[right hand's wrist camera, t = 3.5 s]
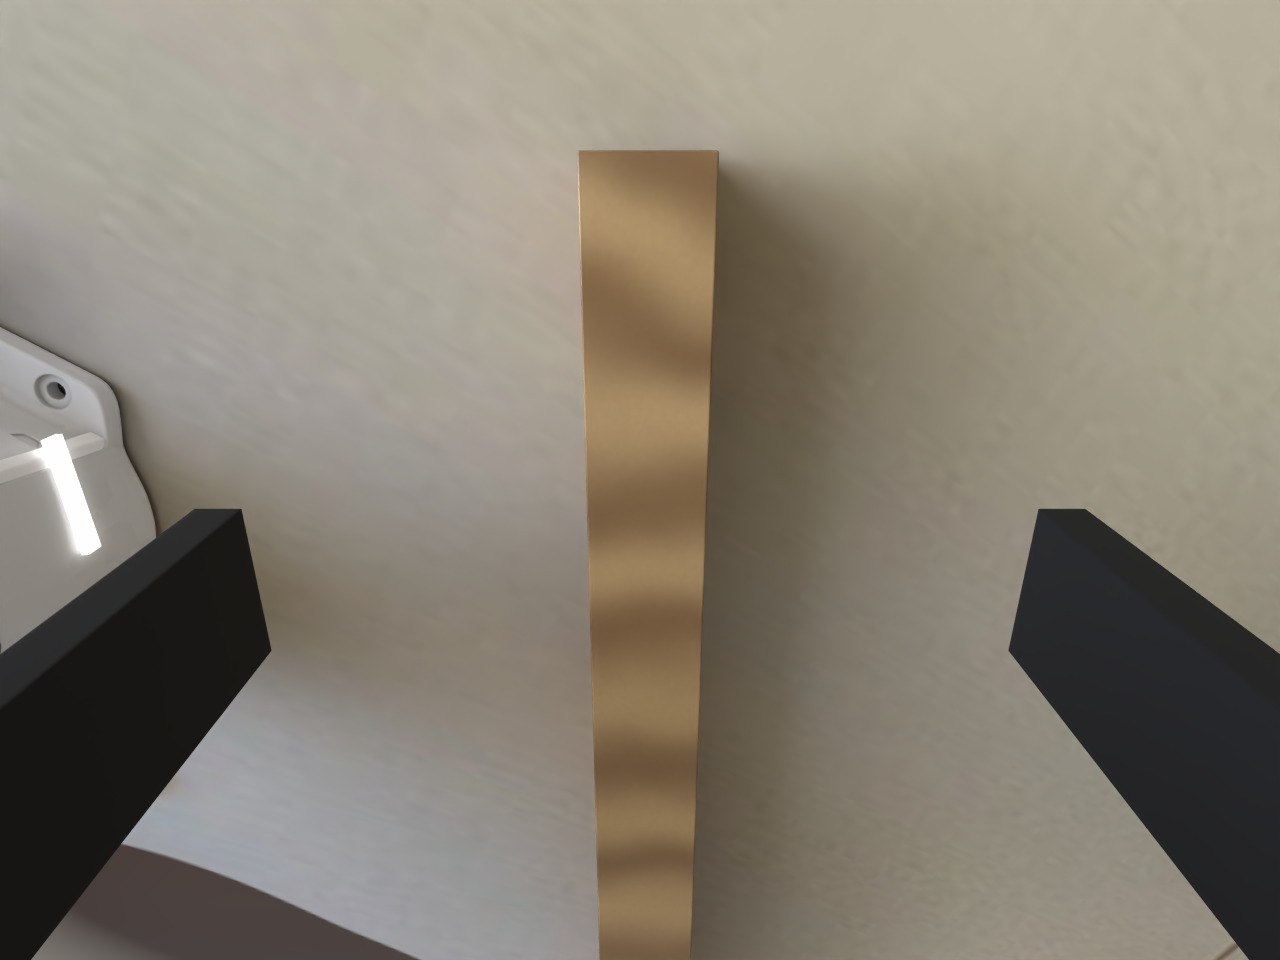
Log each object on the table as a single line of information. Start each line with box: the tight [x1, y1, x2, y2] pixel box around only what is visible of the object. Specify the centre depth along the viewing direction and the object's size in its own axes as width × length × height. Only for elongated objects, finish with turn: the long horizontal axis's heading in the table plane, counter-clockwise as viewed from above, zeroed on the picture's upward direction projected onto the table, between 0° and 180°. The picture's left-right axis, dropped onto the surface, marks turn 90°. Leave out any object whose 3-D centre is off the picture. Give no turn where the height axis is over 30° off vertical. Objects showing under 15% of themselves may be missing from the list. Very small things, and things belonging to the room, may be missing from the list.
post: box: [577, 151, 719, 960], centre depth 39 cm, size 54×5×7 cm, turn 0°
